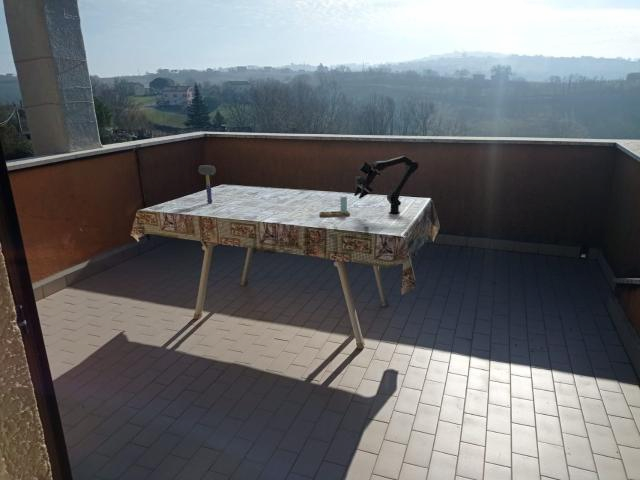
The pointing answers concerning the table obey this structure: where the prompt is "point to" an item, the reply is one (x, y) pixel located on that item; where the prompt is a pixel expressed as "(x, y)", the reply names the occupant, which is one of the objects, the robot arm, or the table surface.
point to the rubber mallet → (207, 178)
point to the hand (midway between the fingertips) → (356, 197)
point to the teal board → (343, 204)
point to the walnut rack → (334, 214)
